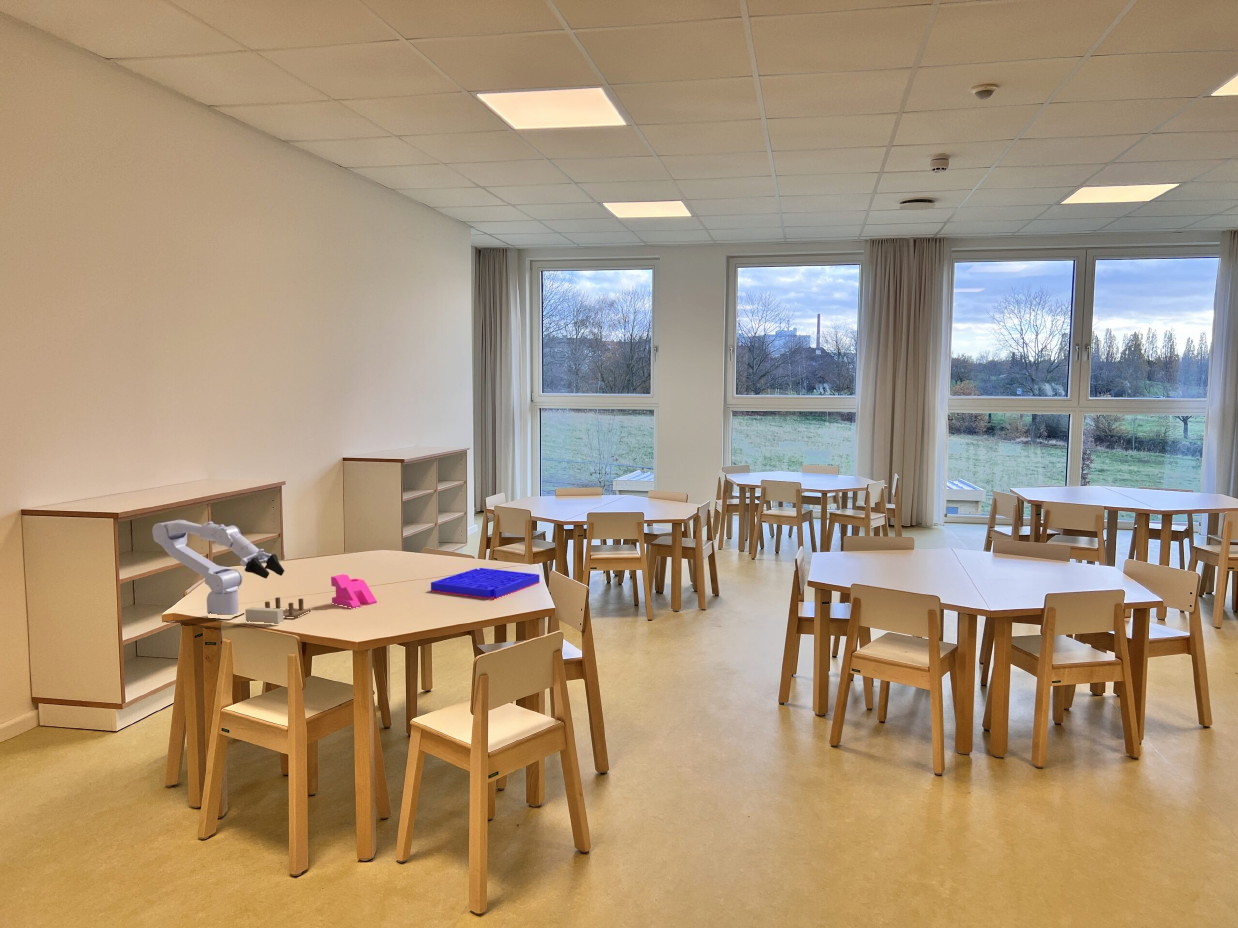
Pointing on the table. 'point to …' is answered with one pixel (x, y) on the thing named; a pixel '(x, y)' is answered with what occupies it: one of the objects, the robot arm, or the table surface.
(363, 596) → the bracket
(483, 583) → the maze
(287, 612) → the rack
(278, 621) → the beige rectangular block
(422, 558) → the table surface
